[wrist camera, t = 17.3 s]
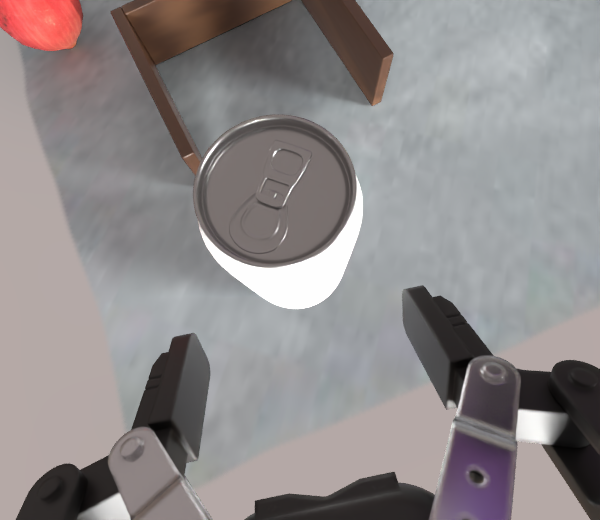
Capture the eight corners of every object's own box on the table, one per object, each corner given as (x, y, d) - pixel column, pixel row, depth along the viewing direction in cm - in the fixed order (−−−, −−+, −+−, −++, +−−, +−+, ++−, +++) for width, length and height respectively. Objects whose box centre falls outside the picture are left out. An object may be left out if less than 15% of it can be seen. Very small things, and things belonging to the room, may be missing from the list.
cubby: (302, -13, 28) (300, -77, 24) (381, 102, 26) (394, 53, 21) (142, 62, 28) (109, 10, 23) (206, 190, 25) (182, 158, 20)
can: (233, 288, 23) (147, 239, 11) (270, 204, 24) (227, 81, 13) (323, 325, 22) (329, 311, 11) (357, 235, 23) (396, 135, 12)
